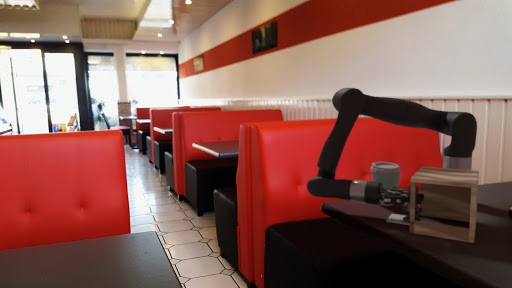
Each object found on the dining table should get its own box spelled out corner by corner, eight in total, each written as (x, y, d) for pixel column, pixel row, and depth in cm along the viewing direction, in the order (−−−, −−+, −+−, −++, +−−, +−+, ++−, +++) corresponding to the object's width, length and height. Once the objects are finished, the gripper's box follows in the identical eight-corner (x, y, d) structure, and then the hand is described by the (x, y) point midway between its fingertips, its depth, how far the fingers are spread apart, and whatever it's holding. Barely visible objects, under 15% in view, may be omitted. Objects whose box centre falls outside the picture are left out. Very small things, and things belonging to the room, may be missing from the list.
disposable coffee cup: (406, 204, 136) (407, 163, 134) (388, 209, 130) (389, 167, 128) (382, 198, 145) (382, 160, 143) (363, 203, 139) (364, 163, 137)
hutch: (419, 214, 124) (421, 166, 122) (476, 221, 116) (478, 170, 114) (409, 232, 108) (410, 177, 106) (473, 242, 99) (476, 183, 98)
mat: (391, 214, 125) (391, 213, 125) (417, 218, 120) (417, 217, 120) (386, 221, 118) (386, 220, 118) (413, 225, 114) (413, 224, 114)
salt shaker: (424, 223, 113) (425, 184, 112) (403, 222, 114) (405, 184, 113) (419, 217, 119) (421, 180, 117) (400, 216, 120) (401, 179, 118)
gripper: (360, 185, 117) (419, 192, 108) (372, 177, 129) (426, 182, 120) (359, 208, 118) (418, 217, 109) (371, 198, 130) (425, 205, 121)
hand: (422, 199), depth 114 cm, fingers closed on salt shaker, 3 cm apart
